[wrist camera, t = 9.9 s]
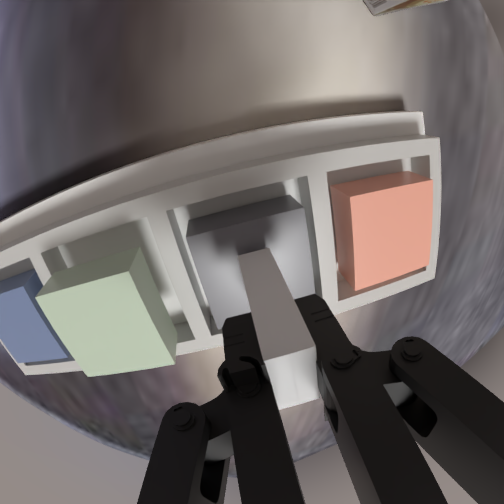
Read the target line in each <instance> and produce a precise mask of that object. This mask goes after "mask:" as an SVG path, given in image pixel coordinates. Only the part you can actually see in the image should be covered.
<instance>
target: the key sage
mask: <svg viewBox="0 0 504 504" xmlns="http://www.w3.org/2000/svg"><path fill="white" fill-rule="evenodd" d="M35 298H36V300H37V302H38V304H39V305H40V307H41V309H42V311H43V312H44V314H45V316H46V317H47V319H48V320H49V322H50V324H51V325H52V327H53V328H54V330H55V332H56V333H57V335H58V336H59V338H60V339H61V341H62V342H63V344H64V345H65V346H66V348H67V349H68V351H69V352H70V354H71V355H72V356H73V358H74V359H75V361H76V362H77V363H78V365H79V366H80V367H81V369H82V370H83V371H84V372H85V374H86V375H87V376H88V377H91V376H100V375H108V374H116V373H123V372H130V371H137V370H143V369H150V368H156V367H161V366H167V365H173V364H175V361H176V346H177V334H178V333H177V331H176V329H175V327H174V324H173V322H172V320H171V318H170V316H169V314H168V311H167V309H166V307H165V305H164V303H163V300H162V298H161V296H160V294H159V291H158V289H157V287H156V284H155V282H154V280H153V277H152V275H151V272H150V270H149V268H148V265H147V263H146V260H145V258H144V255H143V253H142V250H141V247H137V248H133V249H130V250H126V251H123V252H120V253H116V254H113V255H109V256H106V257H103V258H100V259H96V260H93V261H90V262H87V263H83V264H80V265H77V266H74V267H71V268H67V269H64V270H61V271H58V272H55V273H53V275H52V276H51V277H50V278H49V280H48V281H47V282H46V284H45V285H44V286H43V287H42V289H41V290H40V291H39V293H38V294H37V295H36V297H35Z"/></svg>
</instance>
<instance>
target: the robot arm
mask: <svg viewBox="0 0 504 504" xmlns="http://www.w3.org/2000/svg"><path fill="white" fill-rule="evenodd" d="M238 260H239V265H240V269H241V273H242V277H243V281H244V285H245V289H246V294H247V298H248V302H249V306H250V310H251V312H249V313H245V314H241V315H237V316H233V317H229V318H226V320H225V322H224V324H223V327H222V335H223V344H224V353H225V361H224V362H223V363H222V364H221V366H220V367H219V369H218V375H217V376H218V378H219V380H220V382H221V385H222V387H223V389H224V390H223V392H222V393H221V394H220V395H219V396H218V397H216V398H215V399H213V400H211V401H209V402H207V403H205V404H203V405H201V406H198V405H197V404H194V403H190V402H185V403H179V404H177V405H174V406H172V407H171V408H170V409H169V410H168V411H167V412H166V413H165V415H164V417H163V419H162V422H161V425H160V428H159V431H158V435H157V438H156V441H155V444H154V448H153V451H152V454H151V457H150V461H149V464H148V467H147V471H146V474H145V478H144V481H143V485H142V488H141V491H140V495H139V499H138V502H137V504H223V503H224V497H225V490H226V484H227V477H228V470H229V463H230V456H232V455H234V458H235V465H236V471H237V478H238V484H239V490H240V496H241V502H242V504H305V500H304V497H303V494H302V490H301V487H300V483H299V480H298V476H297V473H296V469H295V466H294V462H293V459H292V455H291V451H290V448H289V444H288V441H287V437H286V434H285V430H284V426H283V423H282V420H281V416H280V412H279V410H280V409H284V408H288V407H291V406H295V405H298V404H302V403H305V402H308V401H312V400H315V399H318V398H320V394H321V396H322V399H323V401H324V416H325V421H327V420H328V421H329V423H330V426H331V428H332V431H333V433H334V436H335V439H336V441H337V444H338V446H339V449H340V451H341V454H342V457H343V459H344V462H345V464H346V467H347V470H348V472H349V475H350V477H351V480H352V483H353V485H354V488H355V490H356V493H357V496H358V498H359V501H360V503H361V504H448V503H447V501H446V499H445V497H444V495H443V493H442V491H441V489H440V487H439V485H438V483H437V481H436V479H435V477H434V475H433V473H432V472H431V470H430V468H429V466H428V464H427V462H426V460H425V458H424V456H423V455H422V453H421V451H420V449H419V447H418V445H417V443H419V445H420V446H421V447H422V448H423V449H424V450H425V451H426V452H427V453H428V454H429V455H430V456H431V457H432V458H433V459H434V460H435V461H436V462H437V463H438V464H439V465H440V466H441V467H442V468H443V469H444V470H445V471H446V472H447V473H448V474H449V475H450V476H451V477H452V478H453V479H454V480H455V481H456V482H457V483H458V484H459V485H460V486H461V487H462V488H463V489H464V490H465V491H466V492H467V493H468V494H469V495H470V496H471V497H472V498H473V499H474V500H475V501H476V502H477V503H478V504H504V402H503V401H501V400H500V399H499V398H498V397H496V396H495V395H494V394H493V393H492V392H490V391H489V390H488V389H486V388H485V387H484V386H483V385H482V384H480V383H479V382H478V381H477V380H475V379H474V378H473V377H471V376H470V375H469V374H468V373H467V372H465V371H464V370H463V369H461V368H460V367H459V366H458V365H456V364H455V363H454V362H453V361H451V360H450V359H449V358H447V357H446V356H445V355H443V354H442V353H441V352H440V351H438V350H437V349H436V348H434V347H433V346H432V345H430V344H429V343H428V342H426V341H425V340H423V339H421V338H418V337H412V336H411V337H404V338H402V339H400V340H398V341H397V342H396V343H395V344H394V345H393V347H392V350H389V351H380V352H366V351H362V350H361V349H360V348H359V347H357V346H354V345H352V344H351V342H350V341H349V339H348V338H347V336H346V334H345V333H344V331H343V329H342V328H341V326H340V324H339V323H338V321H337V319H336V318H335V317H334V314H333V313H332V311H331V310H330V308H329V306H328V305H327V303H326V301H325V300H324V299H323V298H321V297H319V296H318V295H316V294H311V295H308V296H304V297H301V298H297V299H293V296H292V294H291V292H290V290H289V288H288V286H287V284H286V282H285V280H284V278H283V276H282V273H281V271H280V269H279V267H278V265H277V263H276V261H275V259H274V257H273V255H272V253H271V251H270V249H269V248H266V249H262V250H258V251H254V252H250V253H246V254H242V255H239V256H238ZM415 441H416V442H417V443H416V442H415Z"/></svg>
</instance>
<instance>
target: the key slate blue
mask: <svg viewBox="0 0 504 504" xmlns="http://www.w3.org/2000/svg"><path fill="white" fill-rule="evenodd" d="M42 287H43V284H42V282H41V280H40V278H39V276H38V274H37V272H36V270H35V268H34V269H31V270H29V271H26V272H23V273H20V274H18V275H15V276H12V277H10V278H7V279H4V280H2V281H0V339H1V341H2V342H3V344H4V345H5V346H6V348H7V349H8V351H9V352H10V353H11V355H12V356H13V357H14V359H15V360H16V361H17V363H26V362H36V361H45V360H53V359H61V358H68V356H69V354H70V352H69V351H68V349H67V348H66V346H65V345H64V344H63V342H62V341H61V339H60V338H59V336H58V335H57V333H56V332H55V330H54V328H53V327H52V325H51V324H50V322H49V320H48V319H47V317H46V316H45V314H44V312H43V311H42V309H41V307H40V305H39V304H38V302H37V300H36V298H35V297H36V295H37V294H38V293H39V291H40V290H41V289H42Z"/></svg>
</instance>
